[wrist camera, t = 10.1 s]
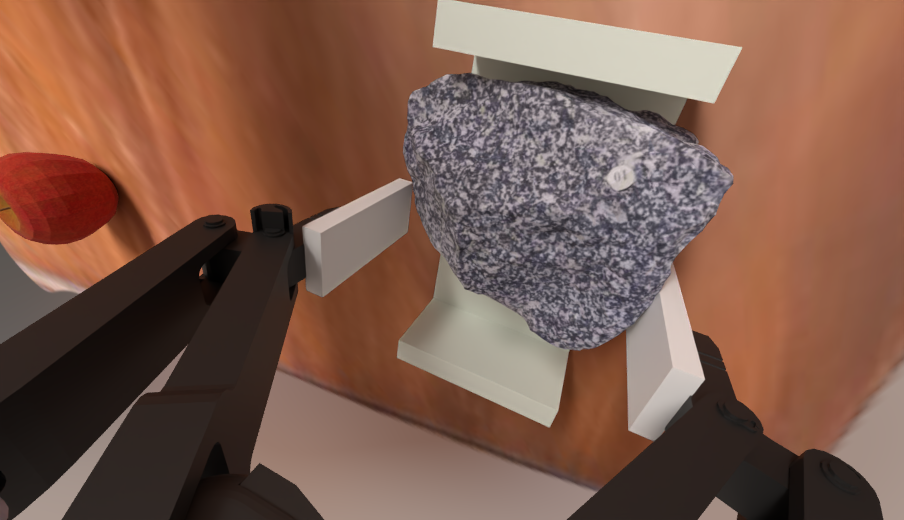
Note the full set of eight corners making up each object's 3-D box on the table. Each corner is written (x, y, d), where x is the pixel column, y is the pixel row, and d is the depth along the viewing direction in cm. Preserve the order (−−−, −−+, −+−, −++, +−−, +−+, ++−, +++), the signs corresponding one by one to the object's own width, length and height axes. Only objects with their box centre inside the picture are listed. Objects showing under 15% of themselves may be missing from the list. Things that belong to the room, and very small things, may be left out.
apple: (92, 130, 32) (-40, 145, 25) (148, 211, 34) (39, 244, 28) (66, 160, 36) (-54, 180, 29) (118, 231, 38) (16, 264, 32)
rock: (782, 114, 9) (616, 409, 13) (727, 119, 13) (618, 335, 17) (373, 35, 12) (349, 286, 16) (442, 60, 17) (409, 252, 21)
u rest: (436, 306, 25) (396, 357, 21) (488, 17, 16) (438, -2, 12) (563, 357, 23) (549, 427, 18) (703, 54, 14) (742, 47, 10)
